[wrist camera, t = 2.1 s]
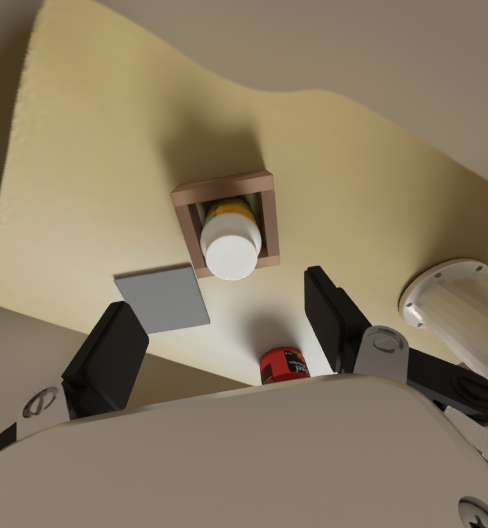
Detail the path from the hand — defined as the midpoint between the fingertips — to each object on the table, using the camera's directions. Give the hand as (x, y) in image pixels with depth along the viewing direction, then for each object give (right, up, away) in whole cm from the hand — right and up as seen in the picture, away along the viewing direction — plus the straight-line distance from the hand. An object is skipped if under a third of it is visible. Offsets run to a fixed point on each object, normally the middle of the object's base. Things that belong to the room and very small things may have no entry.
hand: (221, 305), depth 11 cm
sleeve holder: (0, +7, +13) cm, 15 cm away
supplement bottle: (0, +7, +13) cm, 15 cm away
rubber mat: (-10, -3, +18) cm, 21 cm away
